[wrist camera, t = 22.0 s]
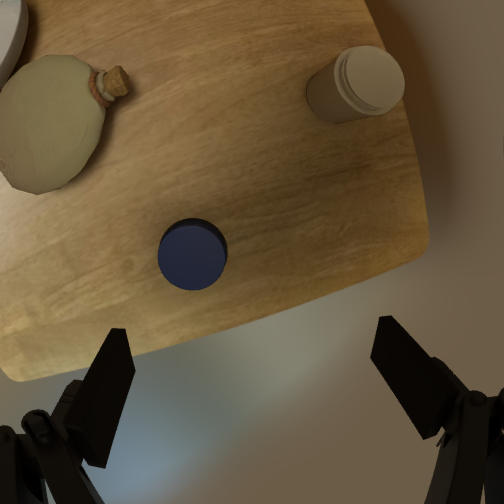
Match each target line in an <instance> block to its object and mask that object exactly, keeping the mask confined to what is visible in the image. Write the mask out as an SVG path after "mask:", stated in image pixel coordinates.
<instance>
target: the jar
mask: <svg viewBox="0 0 504 504" xmlns="http://www.w3.org/2000/svg"><path fill="white" fill-rule="evenodd" d="M404 88H405V82H404V76H403V73H402V70H401V68H400V66H399V65H398V63H397V62H396V61H395V60H394V58H393V57H392V56H391V55H389V54H388V53H387V52H385V51H384V50H382V49H380V48H378V47H374V46H370V45H368V46H356V47H351V48H349V49H346V50H345V51H343V52H342V53H341V54H339V55H338V56H337V57H335V58H334V59H333V60H332V61H330V62H329V63H328V64H327V65H325V66H324V67H323V68H321V69H320V70H319V71H318V72H316V73H315V74H314V75H313V76H312V77H311V79H310V80H309V83H308V85H307V99H308V102H309V104H310V106H311V108H312V109H313V111H314V112H315V113H316V114H317V115H318V116H319V117H320V118H322V119H324V120H326V121H328V122H331V123H345V122H349V121H354V120H358V119H363V118H368V117H372V116H377V115H382V114H385V113H387V112H389V111H390V110H391V109H392V108H393V107H394V106H395V105H396V104H397V103H398V102H399V101H400V99H401V98H402V96H403V93H404Z"/></svg>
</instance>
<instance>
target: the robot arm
mask: <svg viewBox="0 0 504 504" xmlns="http://www.w3.org/2000/svg"><path fill="white" fill-rule="evenodd" d="M370 358H371V360H372V361H373V363H374V364H375V366H376V367H377V369H378V370H379V372H380V373H381V375H382V376H383V378H384V379H385V381H386V382H387V384H388V385H389V387H390V389H391V390H392V392H393V393H394V394H395V396H396V398H397V399H398V401H399V402H400V404H401V405H402V407H403V409H404V410H405V412H406V413H407V415H408V416H409V418H410V420H411V421H412V423H413V424H414V426H415V427H416V429H417V430H418V432H419V434H420V435H421V437H422V439H423V440H425V439H428V438H430V437H433V436H435V435H437V433H438V432H439V430H440V428H441V427H443V428H444V430H445V432H444V434H443V435H442V437H441V439H440V440H439V442H438V443H437V445H436V446H437V447H438V446H439V445H440V443H441V445H440V450H439V454H438V458H437V462H436V466H435V470H434V473H433V477H432V480H431V484H430V487H429V490H428V493H427V497H426V500H425V503H424V504H480V502H481V496H482V490H483V484H484V491H485V504H504V435H503V432H502V430H504V388H503V389H501V391H500V393H499V395H498V396H494V397H487V396H486V395H485V394H483V393H482V392H479V391H473V390H472V391H469V390H468V389H467V387H466V386H465V385H464V384H463V383H462V382H461V381H460V380H459V378H458V377H457V376H456V375H455V374H453V372H452V371H451V370H450V369H449V368H448V367H447V365H446V364H445V363H444V362H443V361H441V360H439V359H438V358H436V357H432V358H431V357H430V356H429V355H428V354H427V353H426V352H425V351H424V350H423V349H422V348H421V347H420V345H419V344H418V343H417V342H416V341H415V340H414V339H413V338H412V337H411V336H410V335H409V334H408V332H407V331H406V330H405V329H404V328H403V327H402V326H401V325H400V324H399V323H398V322H397V321H396V320H395V319H394V318H393V317H392V316H391V315H390V316H382V317H379V321H378V327H377V331H376V335H375V339H374V344H373V348H372V352H371V356H370ZM135 371H136V370H135V367H134V363H133V359H132V355H131V351H130V347H129V343H128V339H127V334H126V330H125V329H119V328H111V330H110V332H109V334H108V335H107V337H106V339H105V341H104V343H103V344H102V346H101V348H100V350H99V352H98V353H97V355H96V357H95V359H94V361H93V363H92V364H91V366H90V368H89V370H88V372H87V374H86V376H85V378H84V380H83V381H82V380H73V381H72V382H71V383H70V384H69V385H67V387H66V388H65V390H64V392H63V394H62V396H61V398H60V399H59V402H58V403H57V405H56V407H55V409H54V411H53V413H52V415H51V416H49V414H48V413H47V412H45V411H44V410H39V409H37V410H32V411H30V412H28V413H27V414H26V415H25V416H24V417H23V419H22V421H21V426H22V428H23V430H24V431H25V433H26V434H16V433H15V431H14V430H13V429H12V428H11V427H9V426H5V425H2V426H0V504H48V498H47V493H46V486H45V480H46V482H47V485H48V487H49V489H50V492H51V494H52V496H53V498H54V500H55V502H56V504H105V503H104V502H103V500H102V499H101V497H100V495H99V494H98V492H97V491H96V489H95V487H94V486H93V484H92V482H91V481H90V479H89V477H88V475H87V474H86V472H85V470H84V468H83V467H82V465H81V464H82V461H83V458H84V459H85V461H86V462H87V464H88V465H90V466H95V467H99V468H106V464H107V460H108V457H109V454H110V450H111V446H112V443H113V440H114V437H115V433H116V430H117V427H118V423H119V419H120V417H121V414H122V410H123V407H124V404H125V401H126V398H127V395H128V392H129V389H130V386H131V383H132V380H133V377H134V374H135Z"/></svg>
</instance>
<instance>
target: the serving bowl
mask: <svg viewBox="0 0 504 504" xmlns="http://www.w3.org/2000/svg"><path fill="white" fill-rule="evenodd" d="M27 28H28V9H27V5H26V1H25V0H0V90H1V89H2V87H3V86H4V84H5V83H6V81H7V79H8V78H9V76H10V74H11V73H12V71H13V69H14V67H15V65H16V63H17V61H18V59H19V56H20V54H21V51H22V48H23V45H24V42H25V38H26V34H27Z"/></svg>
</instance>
